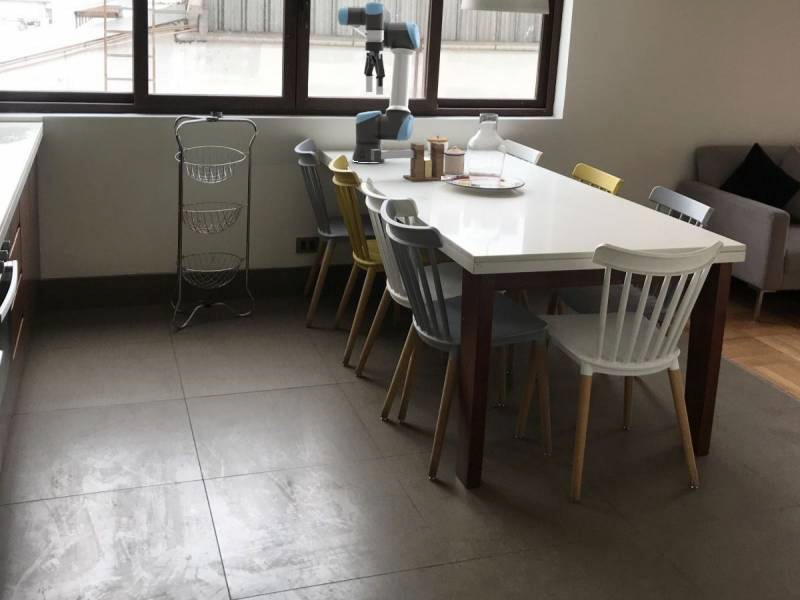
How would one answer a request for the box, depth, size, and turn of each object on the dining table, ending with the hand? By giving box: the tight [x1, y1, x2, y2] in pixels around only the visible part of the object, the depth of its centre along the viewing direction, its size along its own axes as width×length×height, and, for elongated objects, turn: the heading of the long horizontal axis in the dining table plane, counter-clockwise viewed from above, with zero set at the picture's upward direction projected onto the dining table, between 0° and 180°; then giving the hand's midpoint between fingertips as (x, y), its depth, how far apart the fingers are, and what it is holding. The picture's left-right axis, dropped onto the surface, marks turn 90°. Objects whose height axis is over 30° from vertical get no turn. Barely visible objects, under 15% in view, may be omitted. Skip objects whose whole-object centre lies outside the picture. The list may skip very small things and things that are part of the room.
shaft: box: [371, 148, 416, 161], centre depth 395 cm, size 4×20×4 cm, turn 110°
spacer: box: [424, 157, 432, 178], centre depth 402 cm, size 7×3×8 cm, turn 20°
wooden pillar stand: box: [402, 141, 446, 183], centre depth 401 cm, size 12×17×15 cm
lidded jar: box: [426, 134, 450, 153], centre depth 473 cm, size 11×11×9 cm
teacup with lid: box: [444, 145, 466, 175], centre depth 419 cm, size 12×9×12 cm
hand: (374, 93), depth 400 cm, fingers open, 13 cm apart
